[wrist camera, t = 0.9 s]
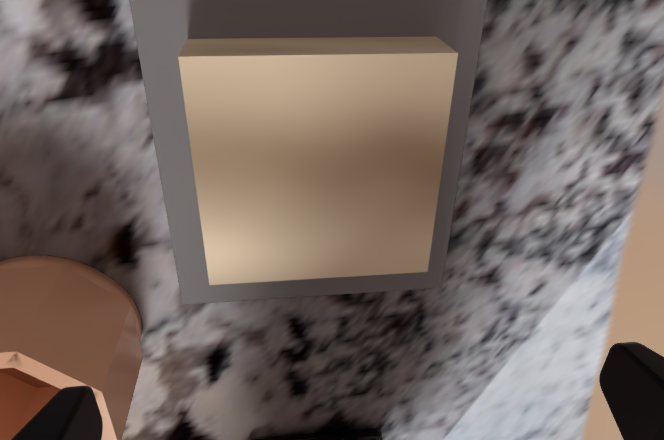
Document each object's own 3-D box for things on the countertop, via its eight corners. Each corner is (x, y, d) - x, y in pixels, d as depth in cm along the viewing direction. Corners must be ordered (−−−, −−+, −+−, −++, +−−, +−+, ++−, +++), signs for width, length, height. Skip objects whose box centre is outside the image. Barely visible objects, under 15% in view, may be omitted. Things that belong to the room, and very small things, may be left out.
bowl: (154, 374, 22) (130, 481, 18) (-7, 386, 21) (-71, 501, 17) (125, 249, 19) (87, 346, 14) (-68, 259, 18) (-164, 364, 14)
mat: (437, 279, 21) (441, 287, 20) (184, 295, 20) (182, 304, 19) (489, -56, 15) (496, -55, 14) (123, -60, 14) (119, -59, 13)
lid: (412, 238, 19) (427, 271, 17) (214, 249, 18) (209, 285, 17) (436, 36, 15) (458, 53, 14) (187, 38, 15) (177, 56, 13)
